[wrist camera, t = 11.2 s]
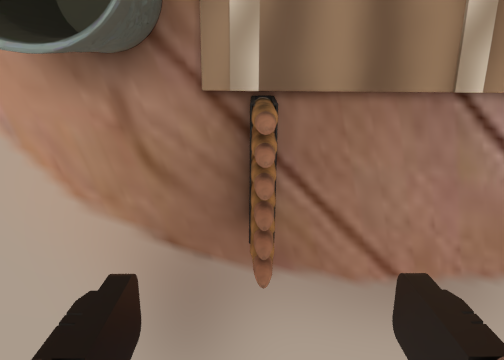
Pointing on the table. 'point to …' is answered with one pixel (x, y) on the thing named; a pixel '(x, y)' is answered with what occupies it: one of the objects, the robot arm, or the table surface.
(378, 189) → the table surface
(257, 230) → the ammunition clip
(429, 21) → the plank
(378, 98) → the table surface
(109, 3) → the grey-green cup
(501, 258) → the table surface
